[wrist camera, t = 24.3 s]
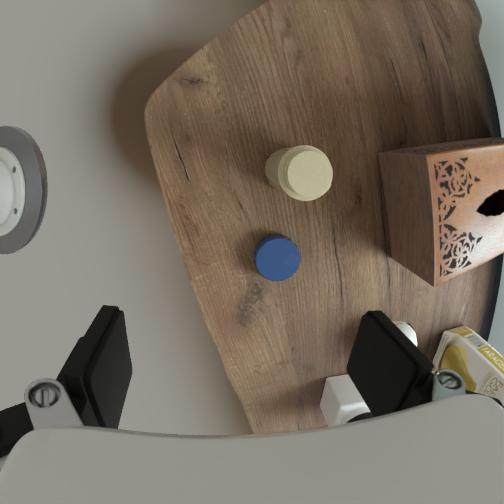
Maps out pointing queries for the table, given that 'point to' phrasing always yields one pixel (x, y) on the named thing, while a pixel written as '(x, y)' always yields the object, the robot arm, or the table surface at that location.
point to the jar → (299, 172)
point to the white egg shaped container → (407, 330)
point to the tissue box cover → (445, 206)
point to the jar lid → (277, 258)
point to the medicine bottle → (342, 402)
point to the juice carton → (472, 361)
